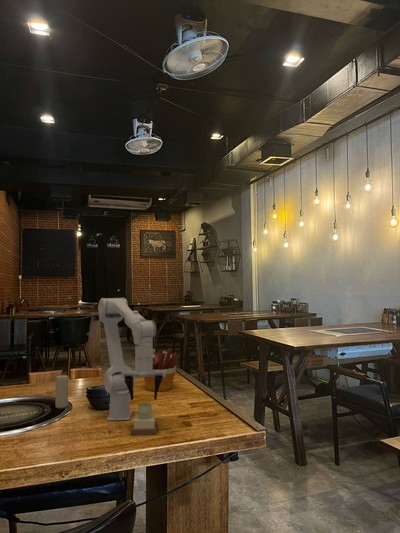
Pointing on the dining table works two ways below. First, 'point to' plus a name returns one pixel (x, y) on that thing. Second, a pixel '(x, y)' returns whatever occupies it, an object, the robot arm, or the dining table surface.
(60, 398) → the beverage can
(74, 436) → the dining table surface
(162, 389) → the bucket of meat
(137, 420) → the top block
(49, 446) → the dining table surface
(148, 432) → the base block
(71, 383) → the dining table surface
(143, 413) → the green cylinder
